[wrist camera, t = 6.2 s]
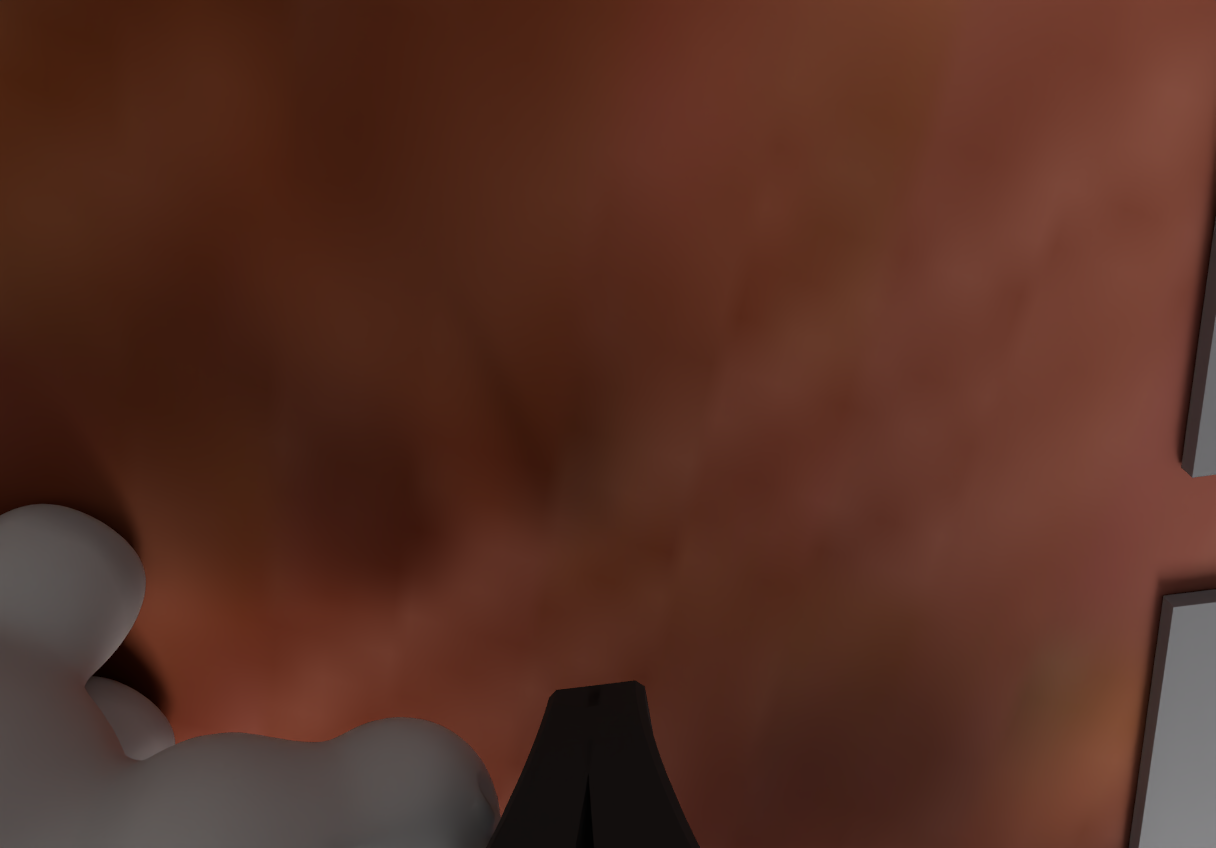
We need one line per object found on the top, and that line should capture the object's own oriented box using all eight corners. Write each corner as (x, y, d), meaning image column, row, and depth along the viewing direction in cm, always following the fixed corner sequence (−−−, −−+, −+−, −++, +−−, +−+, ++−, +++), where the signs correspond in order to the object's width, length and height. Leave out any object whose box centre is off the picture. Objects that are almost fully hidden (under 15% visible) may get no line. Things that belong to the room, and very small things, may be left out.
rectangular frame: (1363, 942, 19) (1463, 1073, 17) (-3, 1078, 21) (-74, 1210, 19) (1804, -420, 10) (2169, -529, 7) (-791, 55, 11) (-1127, 84, 9)
